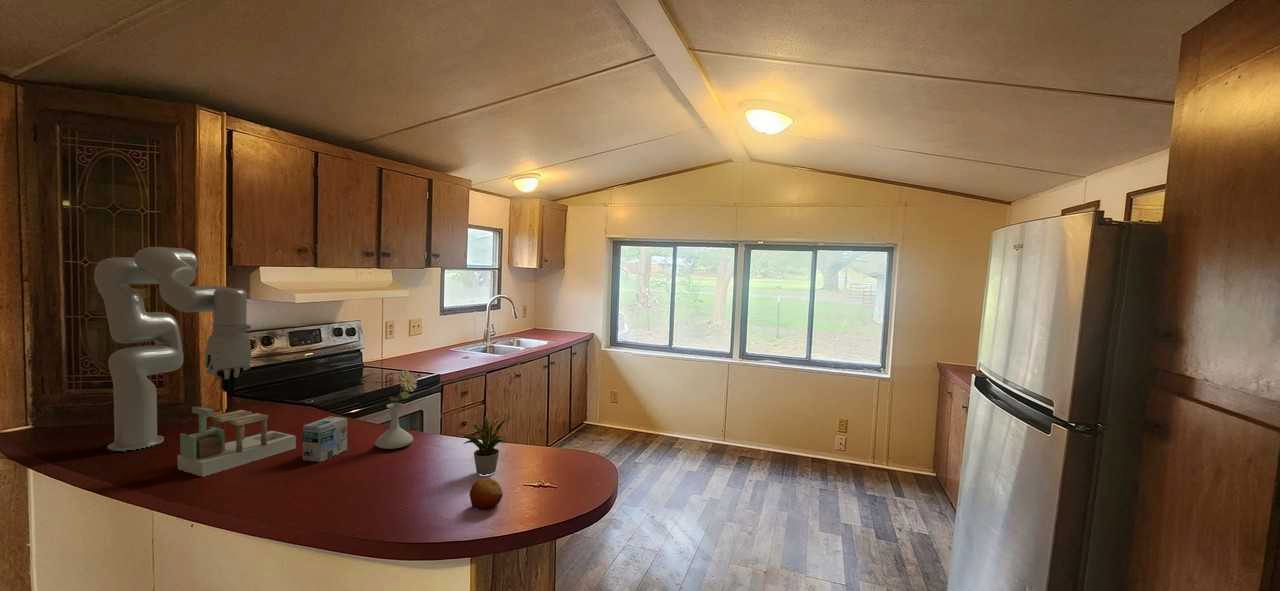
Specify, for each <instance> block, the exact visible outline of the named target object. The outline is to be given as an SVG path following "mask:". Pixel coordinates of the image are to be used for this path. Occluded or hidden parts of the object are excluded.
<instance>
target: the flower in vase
mask: <svg viewBox="0 0 1280 591" xmlns="http://www.w3.org/2000/svg"><path fill="white" fill-rule="evenodd" d="M398 382H399V385H400V386H401V387H400V388H401V389H399V394H398V396H397V397H394V396H391V395H390V396H389V400H390V401H395V402H394V403H389V404H386V407H387V409H388V411H389V414H390V425H389V428H388V429H387V430H386V431H384V433H382V434H381V435H380V436H378V437H377V439H376V440H375V443H374V445H375V446H376V447H377V448H379V449H384V450H391V449H393V450H394V449H399V448H403V447H406V446H408V445H410V444H412V443H413V441H414V436H413V435H412V434H411V433H410V432H408V431H406V430H405V429H403V428H401V427H400V424H399V418H400V417H399V416H400V412H401V409H402V408H403V405H404V404H403V403H400V402H398V401H399V398H400V397H401V398H402V399H403V400H406V399H408V398H410V396H411V394H410V393H413V392H414V390H416V389H417V387H418V386H417V383H418V381H417V380H416V378H415V375H414V374H413V373H411V372H410V371H409V370H407V369H406V370H404V369H402V370H401V371H400V373H399V375H398ZM402 390H403V391H402ZM409 392H410V393H409Z"/></svg>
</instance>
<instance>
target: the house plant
mask: <svg viewBox="0 0 1280 591" xmlns="http://www.w3.org/2000/svg"><path fill="white" fill-rule="evenodd" d="M510 419H511V417H509V418H505V419H503V420H498V421H495V423H493V421H491V422H490V421H489V419H488V417H487V416H485V417H484V427H483V426H482V425H481V424H480V423H479V422H477V421H476V420H475V423H477V424H478V425H479V426H480V427H479V426H478V425H477V424H475V423H472V422H469V421H466V424H470V426H471V427H473V428H474V429H475V430H476V432H477V434H476V432H474V431H473V430H472V429H471V428H468V427H467V429H468V430H470V431H472V432H473V433H475V435H476V436H478V438H479V439H478V438H476V437H475V436H472V435H470V434H467V433H463V432H459V434H460V435H461V436H464V437H465V438H466V439H468V440H467V441H465V442H464V443H463V445H465V444H469V443H472V444H474V445H475V446H476V447H477V448H478V449H476V450H474V452H473V459H474V464H475V469H476V470H475V471H476V474H477V473H478V474H482V475H486V474H491V473H493V472H495V471H496V472H497V465H498V460H499V454H500V449H498V448H495V446H496V445H498V444H500V443H503V444H505V440H504V439H502V438H505V436H502V435H499V434H500V433H501V431H500V430H503V429H504V428H505V426H504V427H502V426H503V425H504V423H506V421H508V420H510ZM489 422H490V423H489ZM499 422H500V423H499ZM497 423H499V424H498V425H497ZM496 425H497V427H496V428H495V431H494V432H493V430H494V427H495V426H496ZM492 432H493V433H492ZM496 472H495V473H496Z"/></svg>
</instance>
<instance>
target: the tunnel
mask: <svg viewBox="0 0 1280 591" xmlns="http://www.w3.org/2000/svg"><path fill="white" fill-rule="evenodd" d="M268 419H269V415H267V414H263V413H258V412H256V413H253V411H250V410H249V411H248V410H244V409H239V410H235V411H232V412H226V413H221V414H217V415H213V416H211V421H213V426H212V427H214V428H219V429H221V428H220V426H221V424H220V422H221V423H225V422H227V425H229V424H230V425H234V426H235V438H236V439H235V440H236V452H242V440H243V439H244V438H245V425H247V424H252V423H257V422H259V421H260V434H261V445H266V444H267V432H268V430H267V429H268V428H267V427H268V426H267V424H268V423H267V422H268Z"/></svg>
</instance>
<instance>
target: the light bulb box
mask: <svg viewBox="0 0 1280 591" xmlns="http://www.w3.org/2000/svg"><path fill="white" fill-rule="evenodd" d="M345 450H347V451H348V418H347V417H339V416H333V415H332V416H331V415H330V416H327V417H324V418H322V419H319V420H316V421H312V422H310V423H307V424H304V425H302V460H303V461H307V460H308V461H309V462H315V461H316V463H322V462H324V461H327V460H329V459H331V458H333V457H332V456H334V455H336V456H338V455H340V454H339V453H341V452H343V451H345ZM343 453H344V452H343ZM337 454H338V455H337ZM341 454H342V453H341ZM330 457H331V458H330ZM334 457H335V456H334ZM328 458H329V459H328ZM326 459H327V460H326ZM308 461H307V462H308ZM321 461H322V462H321Z"/></svg>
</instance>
